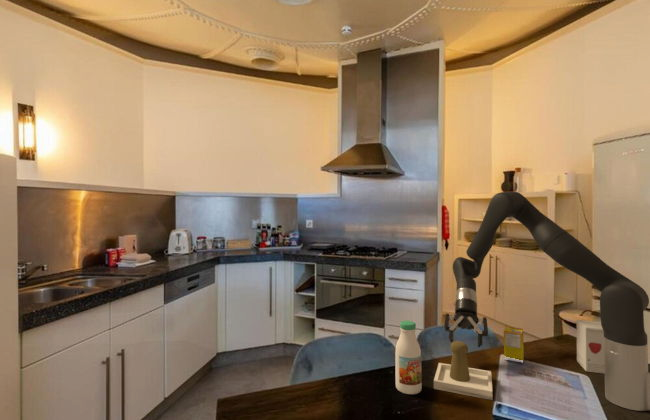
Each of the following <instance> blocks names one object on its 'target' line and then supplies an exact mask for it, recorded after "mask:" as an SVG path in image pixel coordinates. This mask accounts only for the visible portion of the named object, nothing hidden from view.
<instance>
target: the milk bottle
mask: <svg viewBox="0 0 650 420" xmlns="http://www.w3.org/2000/svg"><path fill="white" fill-rule="evenodd" d="M399 328H400V335H399V338H398V340H397V342H396V346H395V351H394V352H395V356H394V357H395V373H394V374H395V388H396V389H397V391H399V392H400V393H402V394H405V395H417V394H419V393H421V392H422V388H423V386H422V385H423V384H422V383H423V381H422V379H423V377H422V375H423V374H422V371H423V370H422V350H421V346H420V343H419V341H418V339H417V336H416V323H415V322H414V321H412V320H402V321H400V323H399Z"/></svg>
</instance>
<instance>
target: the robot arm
mask: <svg viewBox="0 0 650 420" xmlns="http://www.w3.org/2000/svg"><path fill="white" fill-rule="evenodd" d="M507 218H513V219H515V220H517V221H518V222H519V223H521V225H523V226H524V227H525V228H526V229H527V230H528V231H529V232H530V234H531V235H532V237H533V239H534V242H535V244H536V245H537V246H538V248H540V250H541V251H543V253H545V254H546V255H547V256H548V257H549V258H551V259H552V260H553V261H554V262H556V263H557V264H559V266H561V267H563V268H565V269H567V270H568V271H571V272H573V273H574V274H576V275H578V276H580V277H582V278H583V279H585V281H588V282H589V283H590V284H591V285H593V286H594V287H595V288H596V289H597V290H598V291H599V292H600V296H599V313H600V322H601V326H602V328H603V332H604V367H605V374H604V396H605V399H606V400H607V401H609V402H610V403H612V404H613V405H616V406H617V407H621V408H623V409H627V410H632V411H638V412H639V411H640V412H643V411H644V412H645V411H650V371H649V355H648V354H649V353H648V350H649V348H648V346H649V345H648V334H647V333H646V331H645V320H644V317H645V316H644V311H645V310H646V309H648V306H649V304H650V298H649V294H647V292H646V290H645V289H644V288H643V287H641V286H640V285H639V284H638V283H636V282H634V281H633V280H631V279H630V278H628V277H626V276H625V275H624V274H622V273H620V272H619V271H617V270H615V269H614V268H613V267H611V266H610V265H609V264H607V263H605V261H603V260H602V259H601V258H600V257H599V256H598V255H597V254H595V253H594V252H593V251H592V250H591V249H589V248H588V247H587V246H586V245H584V244H583V243H582V242H580V241H579V240H578V239H577V238H576V237H575V236H573V235H572V234H570V233H569V232H568V231H566V230H565V229H564V228H563V227H561V226H559V224H557V223H556V222H555V221H553V220H552V219H550V218H549V217H548V216H547V215H545V214H543V213H542V212H541V211H540V210H539V209H538V208H537V207H536V206H535V205H534V204H532V203H531V202H530V200H529V199H527V197H525V196H524V194H521V193H520V192H517V191H515V190H514V191H512V190H509V191H501V192H498V193H495V194H494V195H493V196H492V197H491V199H490V201H489V204H488V206H487V209H486V212H485V214H484V216H483V219H482V220H481V224H480V226H479V228H478V230H477V232H476V234H475V236H474V238H473V239H472V241H471V242H470V244H469V245H468V246H467V248H466V255H467V257H468V258H465V257H463V256H459V257H456V258H455V259H454V260H453V262H452V271H453V276H454V278H455V282H456V293H455V300H454V303H455V304H454V307H455V308H454V314H452V315H451V314H449V313H448V312H447V313H445V318H444V326H443V327H444V328H443V329H444V331H445V332H448V333H449V335H448V340H449V342H450V343H452V342H454V339H455V338H454V337H455V332H456V331H458V330H459V329H461V330H470V331H471V330H472V331H474V333H475V334H476V335H477V347H478V348H480V347H481V346H483V337H488V336H489V327H488V319H487V317H486V316H484V317H483V318H479V317H478V297H477V283H476V280H475V279H477V278H478V277H479V276H480V274H481V272H482V271H481V270H482V267H483V263H484V260H485V258H486V257H487V255H488V254H489V252H490V250H491V249H492V247H493V246H494V242H495V238H496V234H497V231H498V229H499V227H500V226H501V225H502V224H503V223H504V221H505V220H506V219H507ZM469 258H470V259H469ZM452 320H453V321H454V323H452V325H451V326H450V322H452ZM478 323H479V324H480V325H481V326H482V327H483V330H481V328H480V327H479V326H478Z"/></svg>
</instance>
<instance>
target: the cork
mask: <svg viewBox="0 0 650 420" xmlns="http://www.w3.org/2000/svg"><path fill="white" fill-rule="evenodd" d="M450 343H451V342H450ZM450 350H451V353H452V354H451V355H452V356H451V362H450V365H451V368H450V378H452V379H453V380H456V381H460V382H466V381H469V380H470V375H469V369H468V368H469V364H468V357H467V355H468V351H469V347H468V344H466V343H465V342H464V341H459V340H456V341H454V342H452V343H451V344H450Z"/></svg>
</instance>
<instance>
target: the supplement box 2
mask: <svg viewBox="0 0 650 420" xmlns="http://www.w3.org/2000/svg"><path fill="white" fill-rule="evenodd" d="M576 361H577V363H578V364H579V365H580V366H581V367H582V369H583V370H584V371H585V372H588V373H589V372H590V373H596V374H597V373H598V374H604V375H605V367H604V332H603V328H602V326H601V321H595V320H582V319H576Z"/></svg>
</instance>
